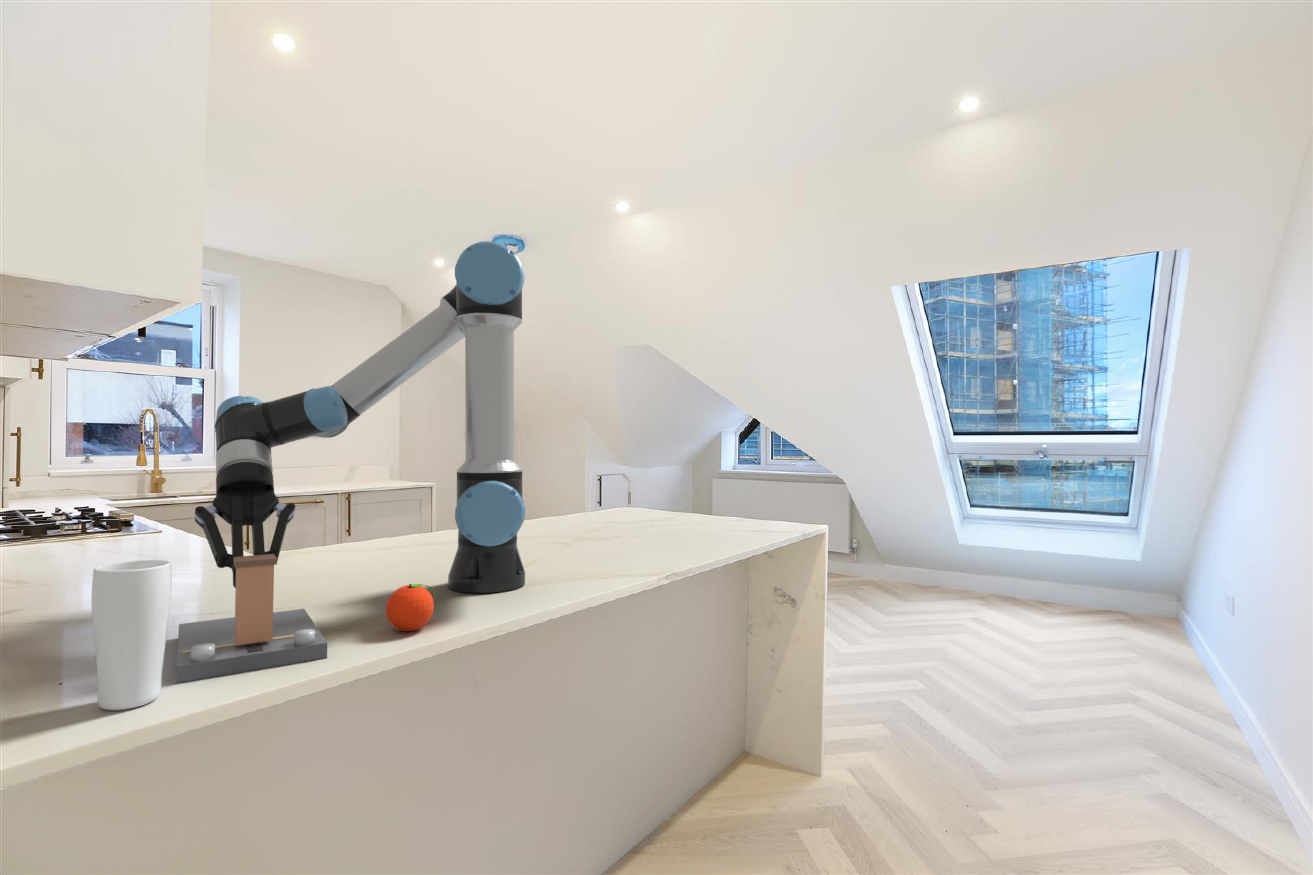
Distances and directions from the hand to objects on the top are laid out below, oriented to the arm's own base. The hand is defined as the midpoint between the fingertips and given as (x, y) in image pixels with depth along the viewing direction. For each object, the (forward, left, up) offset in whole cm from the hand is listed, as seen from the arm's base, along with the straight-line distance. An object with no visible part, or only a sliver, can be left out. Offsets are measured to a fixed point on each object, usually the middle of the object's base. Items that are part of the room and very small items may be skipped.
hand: (250, 604), depth 86 cm
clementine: (-21, +1, -7) cm, 22 cm away
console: (0, -2, -7) cm, 7 cm away
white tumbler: (+12, +12, -7) cm, 18 cm away
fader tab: (0, +3, -4) cm, 5 cm away
